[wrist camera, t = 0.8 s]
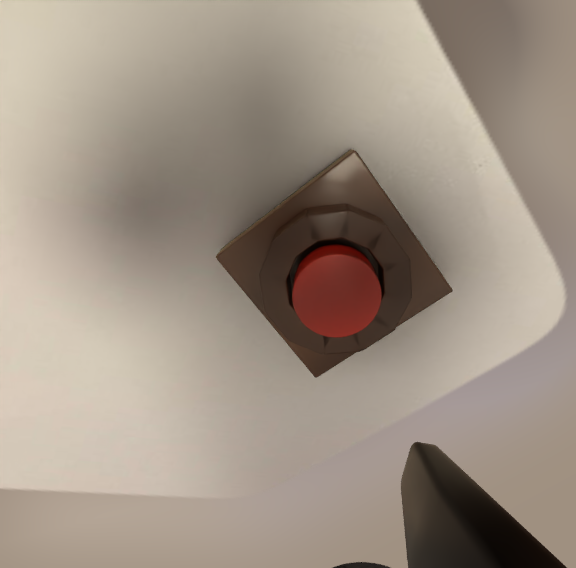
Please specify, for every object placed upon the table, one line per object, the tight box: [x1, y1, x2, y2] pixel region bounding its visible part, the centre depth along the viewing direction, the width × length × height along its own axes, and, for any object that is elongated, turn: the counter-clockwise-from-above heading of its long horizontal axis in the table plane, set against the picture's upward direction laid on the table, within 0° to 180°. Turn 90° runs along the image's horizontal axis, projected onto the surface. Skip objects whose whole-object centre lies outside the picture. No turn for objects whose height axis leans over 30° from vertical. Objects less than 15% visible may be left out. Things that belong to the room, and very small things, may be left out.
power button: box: [292, 244, 381, 337], centre depth 19 cm, size 4×4×2 cm
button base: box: [216, 149, 452, 378], centre depth 21 cm, size 8×8×4 cm
